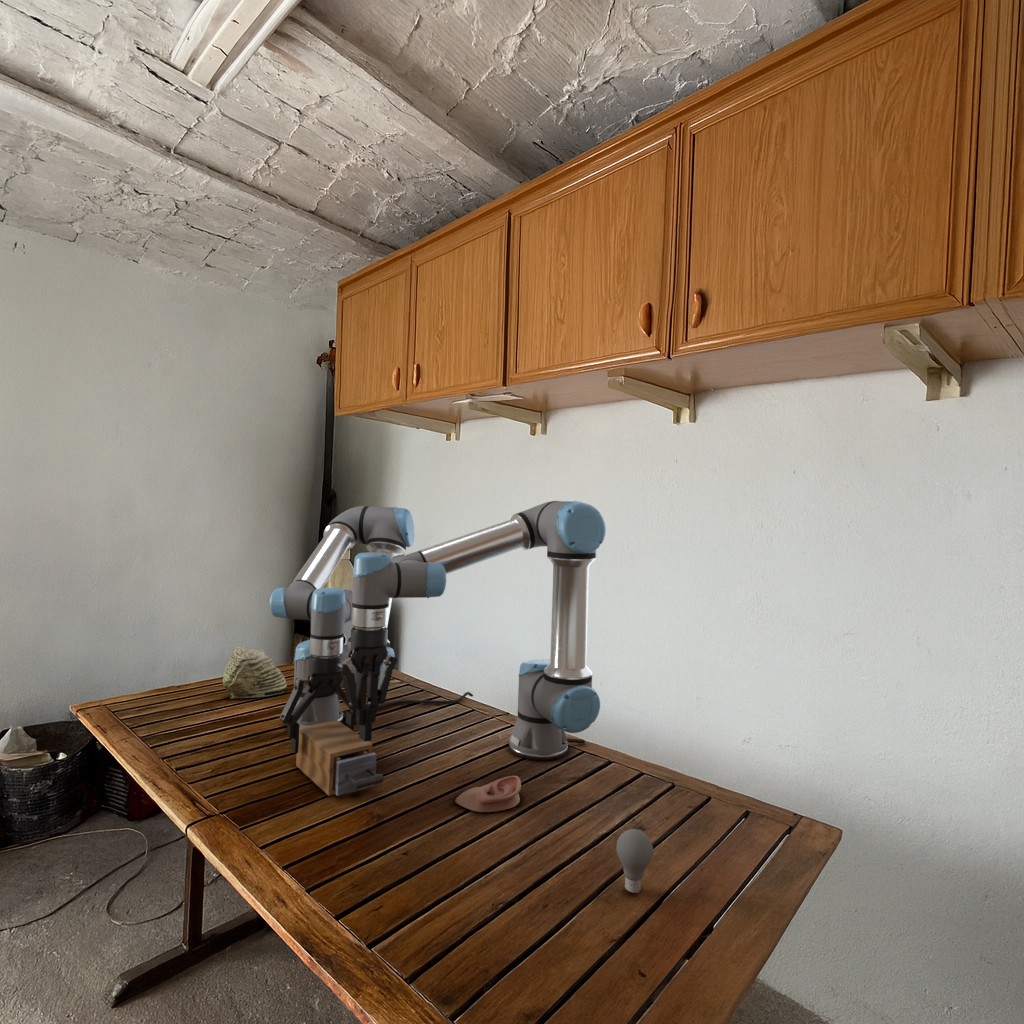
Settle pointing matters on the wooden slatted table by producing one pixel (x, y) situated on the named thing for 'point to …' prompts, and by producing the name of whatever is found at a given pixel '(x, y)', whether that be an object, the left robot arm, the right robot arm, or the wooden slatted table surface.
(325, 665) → the left robot arm
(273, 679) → the fossil
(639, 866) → the light bulb
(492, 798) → the anatomical model
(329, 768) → the cabinet
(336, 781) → the drawer
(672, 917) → the wooden slatted table surface
